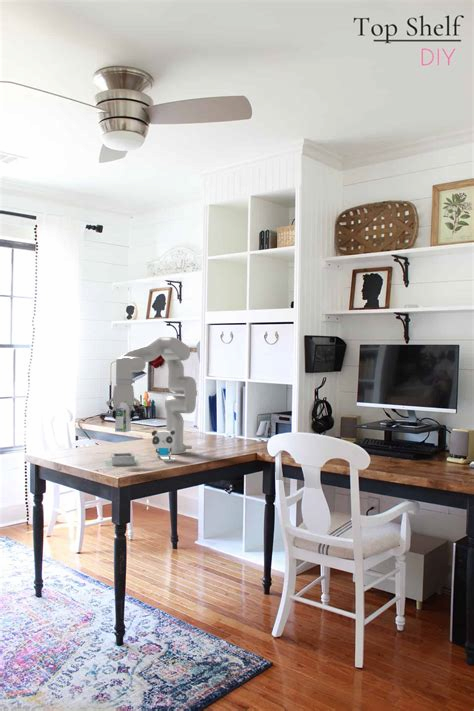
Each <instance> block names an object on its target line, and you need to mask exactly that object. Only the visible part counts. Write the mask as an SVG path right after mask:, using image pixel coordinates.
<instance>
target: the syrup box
mask: <svg viewBox="0 0 474 711" xmlns="http://www.w3.org/2000/svg"><path fill="white" fill-rule="evenodd" d="M115 411H116V419H114V420H115V423H114V424H115V425H114V432H115V433H128V432H131V431H132V429H131V428H132V419H131V407H130V406H128V403H127V402H121V403H120V406H117V407H116V409H115Z"/></svg>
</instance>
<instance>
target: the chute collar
mask: <svg viewBox="0 0 474 711" xmlns="http://www.w3.org/2000/svg"><path fill="white" fill-rule="evenodd" d="M135 457H136V456H135V454H134V453H133V452H118V453H115V452H114V453H110V461H111V463H112V465H134V460H135Z"/></svg>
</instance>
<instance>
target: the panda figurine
mask: <svg viewBox="0 0 474 711" xmlns="http://www.w3.org/2000/svg"><path fill="white" fill-rule="evenodd" d="M174 434H175V431H174V430H172V431H171V432H170V431H166V430H159V431H157V429H155V430H153V431H152V432H151V436H152V437H153V438H152V440H151V441H152V445H153V447H154V448H155V453H156V454H157V458H161V460H162V462H173V461H175V460H176V458H175V457H172V454H171V447H172V446H173V444H174V441H175V439H174Z"/></svg>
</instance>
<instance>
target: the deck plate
mask: <svg viewBox="0 0 474 711" xmlns="http://www.w3.org/2000/svg"><path fill="white" fill-rule="evenodd" d="M104 463H105V466H106V467H127V466H128V467H129V466H130V467H131V466H133V467H134V466H141V464H140V461H139V460H138V459H134V465H112V463H111V460H105V461H104Z"/></svg>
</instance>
